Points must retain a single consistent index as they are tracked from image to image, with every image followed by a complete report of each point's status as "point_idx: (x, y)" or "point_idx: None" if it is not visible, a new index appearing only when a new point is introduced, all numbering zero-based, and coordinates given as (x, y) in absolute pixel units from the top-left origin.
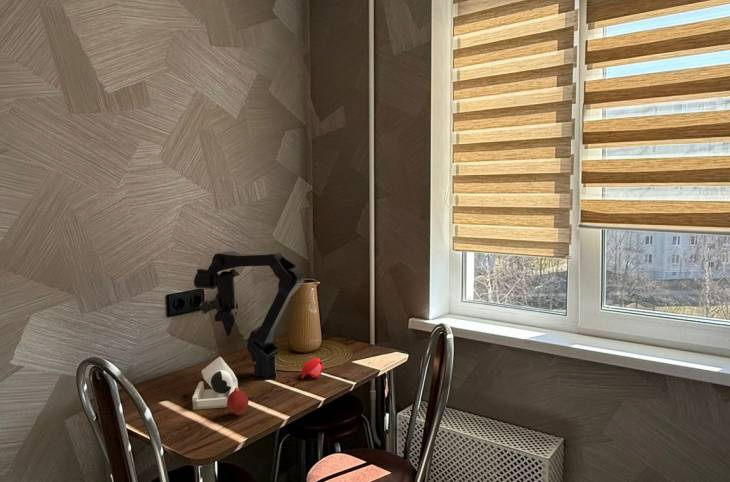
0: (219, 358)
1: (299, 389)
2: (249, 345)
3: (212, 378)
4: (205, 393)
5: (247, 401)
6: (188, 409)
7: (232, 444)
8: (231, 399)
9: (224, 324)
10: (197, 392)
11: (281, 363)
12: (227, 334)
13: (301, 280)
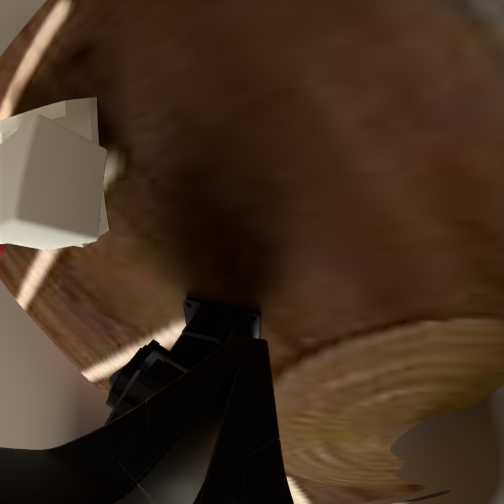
0: (1, 220)
1: (120, 367)
2: (114, 385)
3: None
4: (66, 126)
5: None
6: (16, 105)
7: None
8: None
9: (110, 437)
10: (6, 127)
11: (351, 389)
12: (228, 349)
13: None
